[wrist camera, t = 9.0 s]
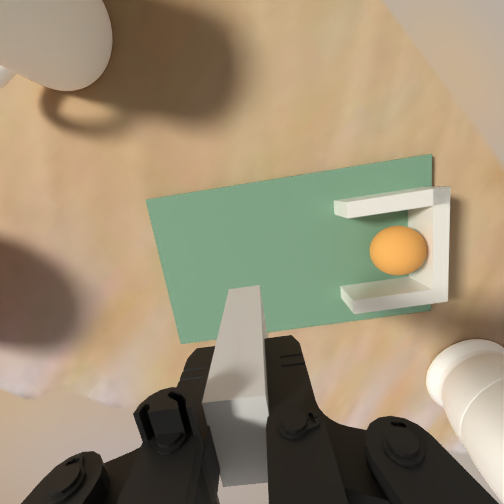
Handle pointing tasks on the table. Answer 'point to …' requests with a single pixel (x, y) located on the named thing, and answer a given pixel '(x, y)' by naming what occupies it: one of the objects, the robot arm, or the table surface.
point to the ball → (398, 250)
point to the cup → (54, 42)
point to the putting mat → (278, 245)
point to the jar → (474, 402)
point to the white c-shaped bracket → (432, 231)
